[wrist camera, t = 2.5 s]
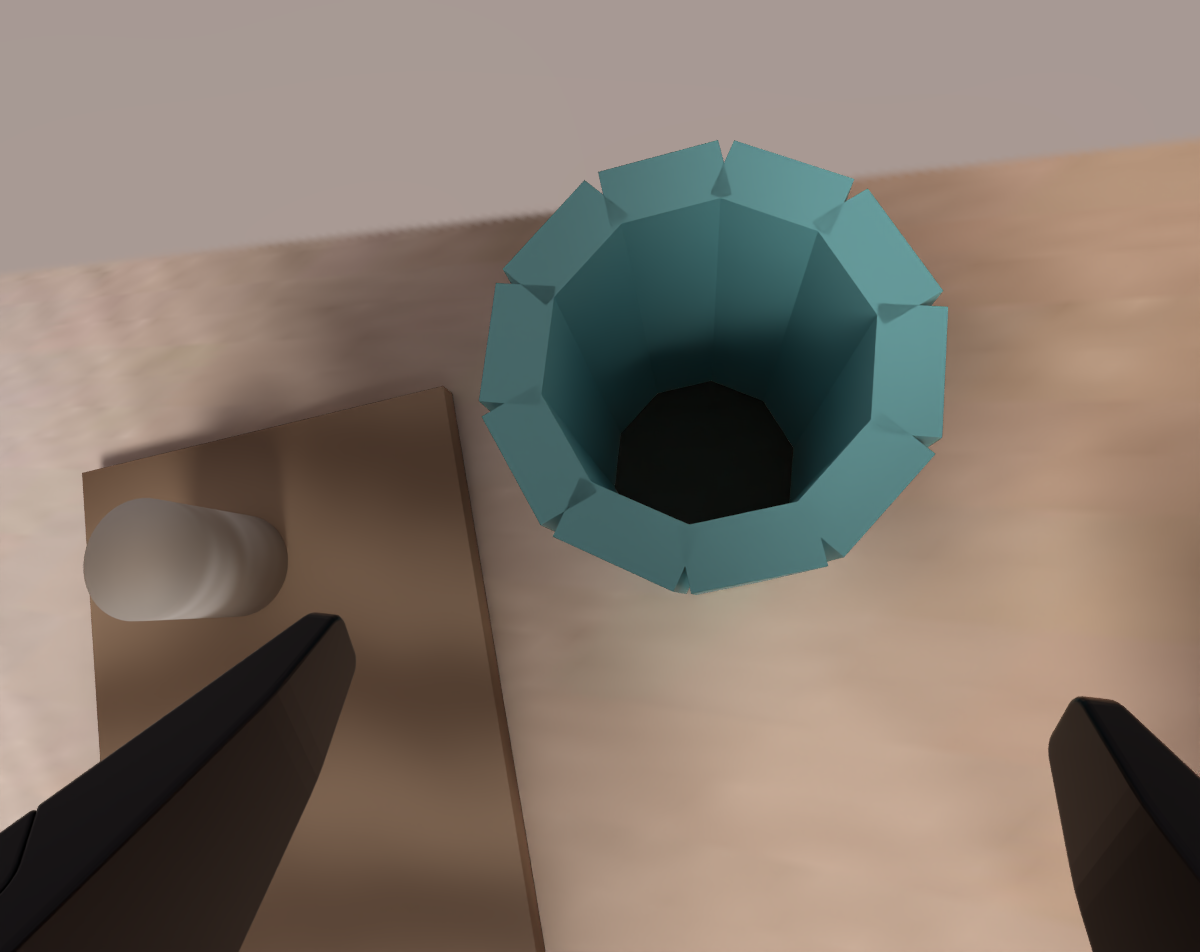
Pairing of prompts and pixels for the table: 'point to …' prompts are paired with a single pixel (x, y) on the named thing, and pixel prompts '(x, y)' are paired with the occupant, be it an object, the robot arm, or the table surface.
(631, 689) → the table surface
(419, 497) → the peg board
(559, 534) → the teal collar
